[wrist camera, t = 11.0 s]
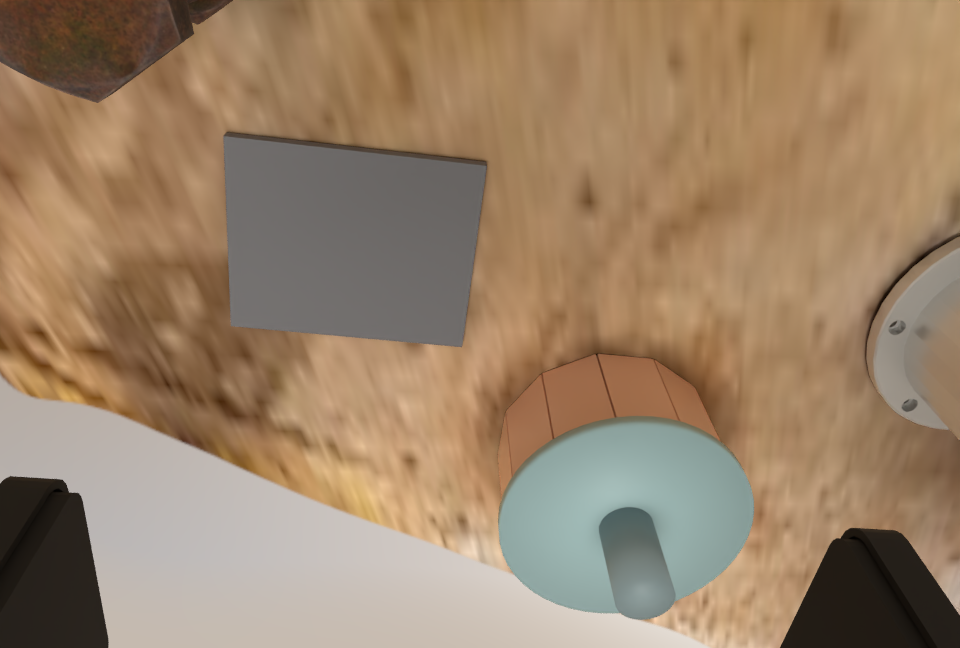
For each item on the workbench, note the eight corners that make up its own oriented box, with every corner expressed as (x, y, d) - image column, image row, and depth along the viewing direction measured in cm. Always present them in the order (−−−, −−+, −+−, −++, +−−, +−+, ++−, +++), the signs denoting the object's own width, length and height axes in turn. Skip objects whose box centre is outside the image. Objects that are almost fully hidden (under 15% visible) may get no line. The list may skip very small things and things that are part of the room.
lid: (782, 427, 37) (829, 504, 33) (709, 608, 44) (739, 693, 39) (518, 405, 36) (528, 481, 32) (483, 594, 43) (487, 681, 38)
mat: (486, 161, 36) (486, 165, 36) (462, 341, 41) (462, 347, 41) (227, 132, 35) (223, 135, 35) (233, 320, 40) (230, 325, 40)
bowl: (730, 365, 43) (769, 433, 38) (675, 523, 49) (702, 601, 44) (517, 346, 42) (526, 413, 36) (487, 510, 48) (492, 587, 42)
